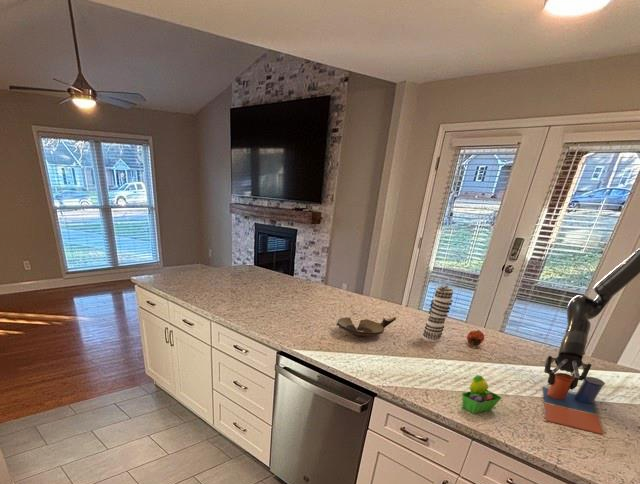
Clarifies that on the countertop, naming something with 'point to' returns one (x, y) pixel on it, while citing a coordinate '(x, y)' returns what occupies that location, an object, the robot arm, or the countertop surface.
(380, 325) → the oil lamp
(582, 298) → the robot arm
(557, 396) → the terracotta canister
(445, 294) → the striped cylindrical tower
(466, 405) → the fruit basket
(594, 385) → the blue canister
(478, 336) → the pomegranate
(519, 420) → the countertop surface
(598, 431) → the terracotta mat
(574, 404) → the blue mat
